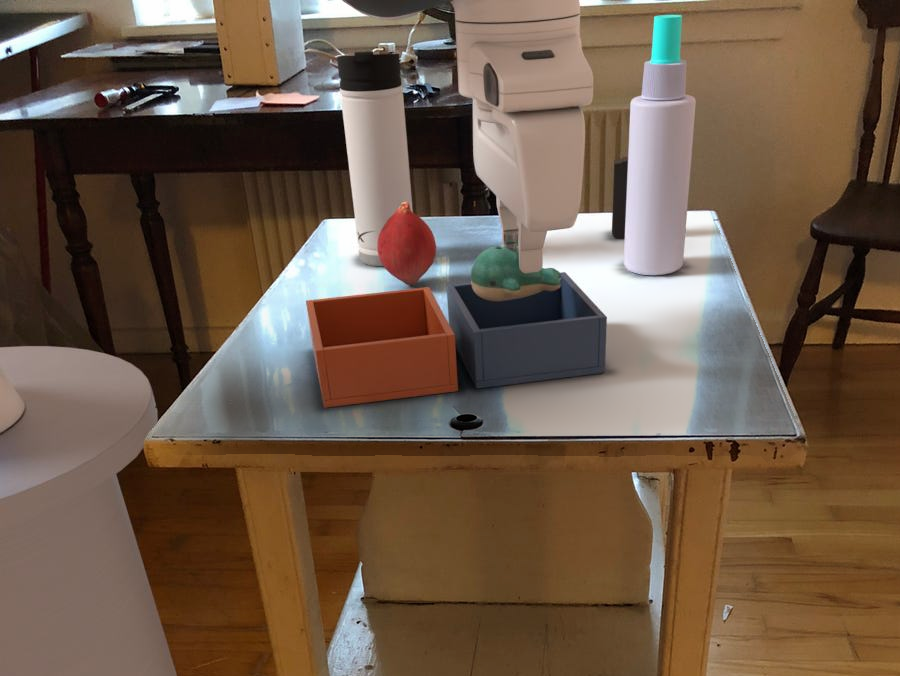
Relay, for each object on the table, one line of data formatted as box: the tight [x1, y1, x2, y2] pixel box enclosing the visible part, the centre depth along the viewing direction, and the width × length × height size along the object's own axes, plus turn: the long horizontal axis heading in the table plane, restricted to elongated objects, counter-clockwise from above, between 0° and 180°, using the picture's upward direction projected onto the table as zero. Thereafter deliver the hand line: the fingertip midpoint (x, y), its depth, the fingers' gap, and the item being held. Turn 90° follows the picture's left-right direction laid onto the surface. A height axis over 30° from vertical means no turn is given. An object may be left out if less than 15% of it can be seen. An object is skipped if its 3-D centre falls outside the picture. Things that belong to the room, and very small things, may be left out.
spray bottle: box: [623, 14, 697, 276], centre depth 94 cm, size 6×6×22 cm
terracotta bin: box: [305, 286, 459, 409], centre depth 80 cm, size 11×12×5 cm
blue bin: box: [446, 271, 608, 389], centre depth 82 cm, size 11×12×5 cm
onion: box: [377, 202, 437, 286], centre depth 97 cm, size 6×6×8 cm
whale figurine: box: [470, 245, 561, 302], centre depth 79 cm, size 6×7×4 cm
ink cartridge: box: [611, 156, 628, 240], centre depth 108 cm, size 5×2×8 cm, turn 84°
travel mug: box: [336, 50, 414, 267], centre depth 101 cm, size 6×7×20 cm
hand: (522, 261), depth 79 cm, fingers closed on whale figurine, 3 cm apart
